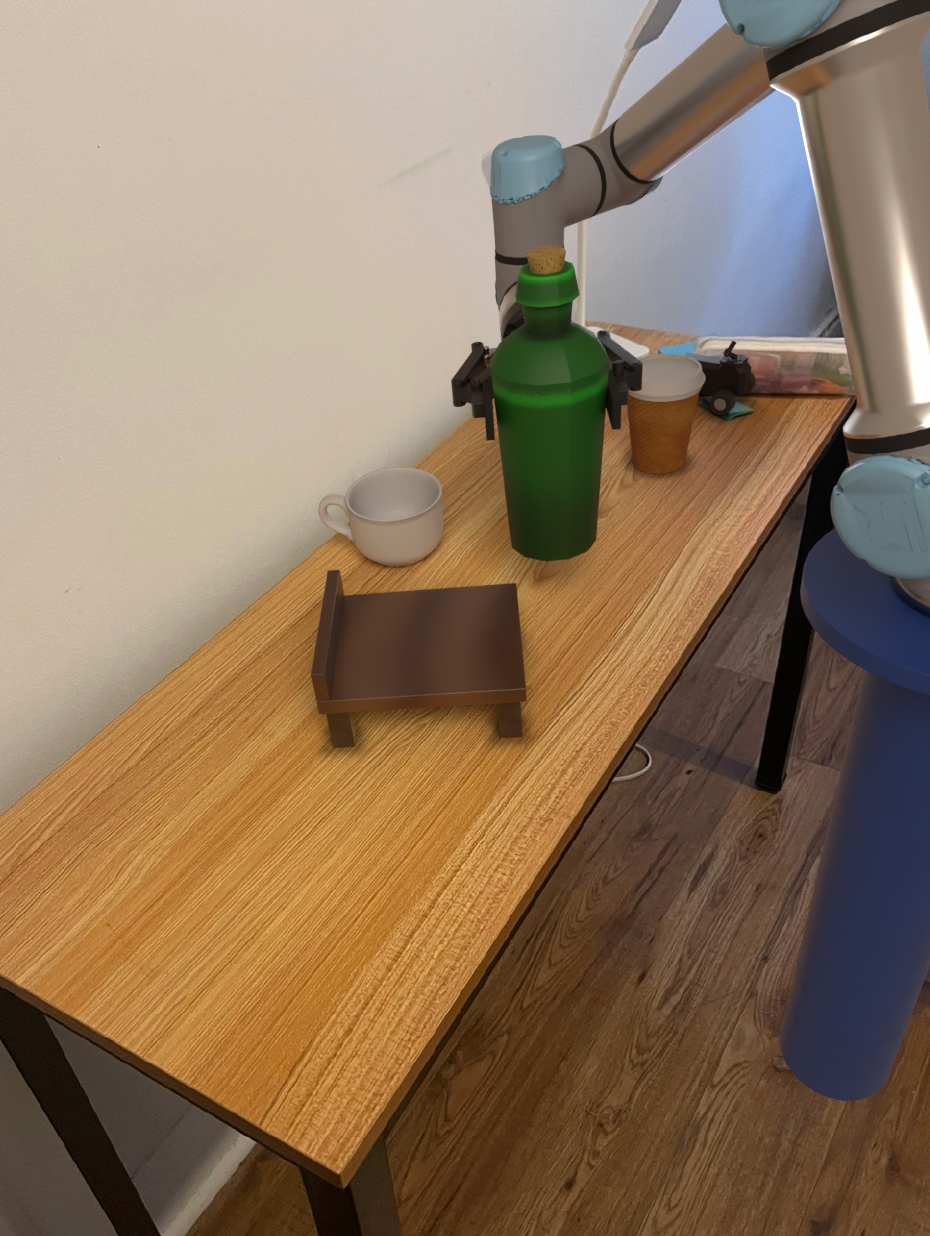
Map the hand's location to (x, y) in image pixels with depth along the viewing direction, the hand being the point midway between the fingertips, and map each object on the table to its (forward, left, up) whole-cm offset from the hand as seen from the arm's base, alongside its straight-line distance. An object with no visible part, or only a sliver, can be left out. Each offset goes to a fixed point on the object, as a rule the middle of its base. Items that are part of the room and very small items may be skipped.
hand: (553, 420), depth 90 cm
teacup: (+18, -15, -22) cm, 32 cm away
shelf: (+13, +10, -22) cm, 27 cm away
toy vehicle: (-22, -48, -22) cm, 57 cm away
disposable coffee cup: (-15, -31, -22) cm, 41 cm away
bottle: (0, -4, -15) cm, 16 cm away
